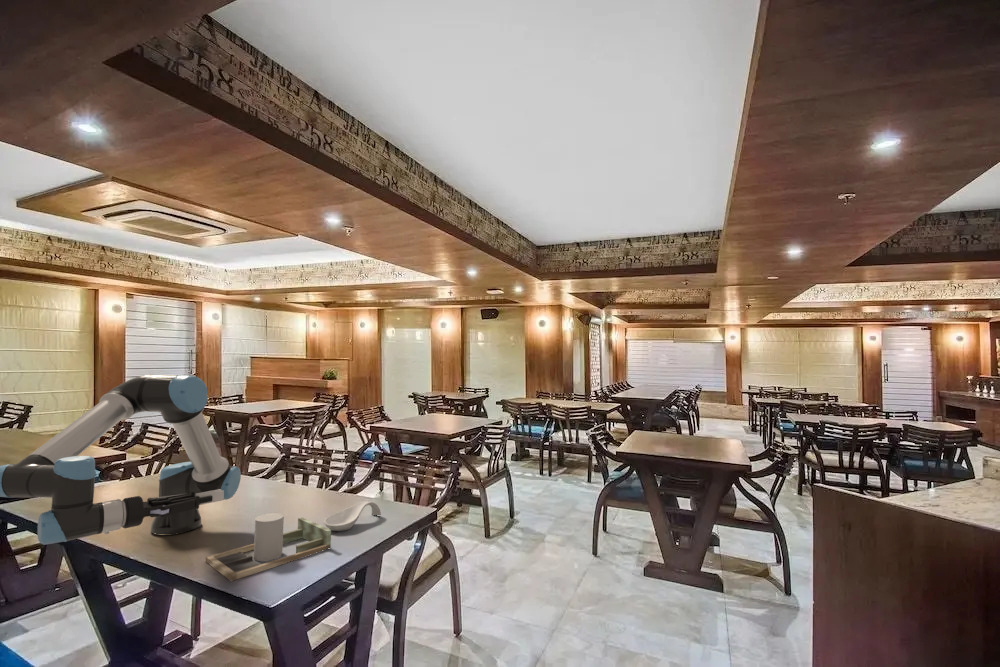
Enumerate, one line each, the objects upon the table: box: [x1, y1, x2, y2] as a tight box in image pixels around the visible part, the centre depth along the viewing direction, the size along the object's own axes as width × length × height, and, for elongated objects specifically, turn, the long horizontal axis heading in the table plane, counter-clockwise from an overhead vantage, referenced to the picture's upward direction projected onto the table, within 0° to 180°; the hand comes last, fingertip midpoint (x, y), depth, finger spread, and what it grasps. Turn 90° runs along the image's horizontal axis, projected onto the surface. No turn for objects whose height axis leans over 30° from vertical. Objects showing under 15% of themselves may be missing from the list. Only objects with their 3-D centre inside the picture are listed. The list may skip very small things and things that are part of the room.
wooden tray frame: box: [205, 516, 332, 582], centre depth 150 cm, size 19×30×6 cm, turn 140°
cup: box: [253, 512, 285, 562], centre depth 150 cm, size 8×8×12 cm
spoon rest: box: [323, 500, 382, 532], centre depth 179 cm, size 24×12×7 cm, turn 149°
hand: (221, 494), depth 139 cm, fingers closed
